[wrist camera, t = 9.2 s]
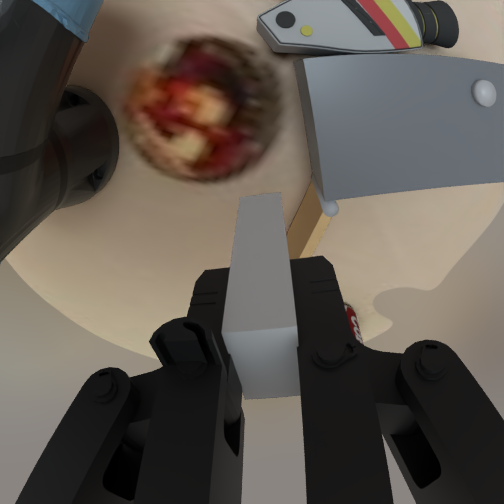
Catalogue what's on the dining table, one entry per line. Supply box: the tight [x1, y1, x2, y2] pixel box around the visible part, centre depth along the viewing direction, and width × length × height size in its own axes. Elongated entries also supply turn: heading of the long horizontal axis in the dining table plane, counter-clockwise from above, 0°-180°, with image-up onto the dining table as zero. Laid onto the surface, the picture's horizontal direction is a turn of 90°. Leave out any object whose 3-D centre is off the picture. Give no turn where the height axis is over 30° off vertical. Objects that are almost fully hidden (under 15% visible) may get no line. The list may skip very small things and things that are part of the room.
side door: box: [286, 173, 339, 260], centre depth 34 cm, size 16×2×8 cm, turn 161°
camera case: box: [294, 54, 504, 201], centre depth 25 cm, size 23×12×10 cm, turn 101°
